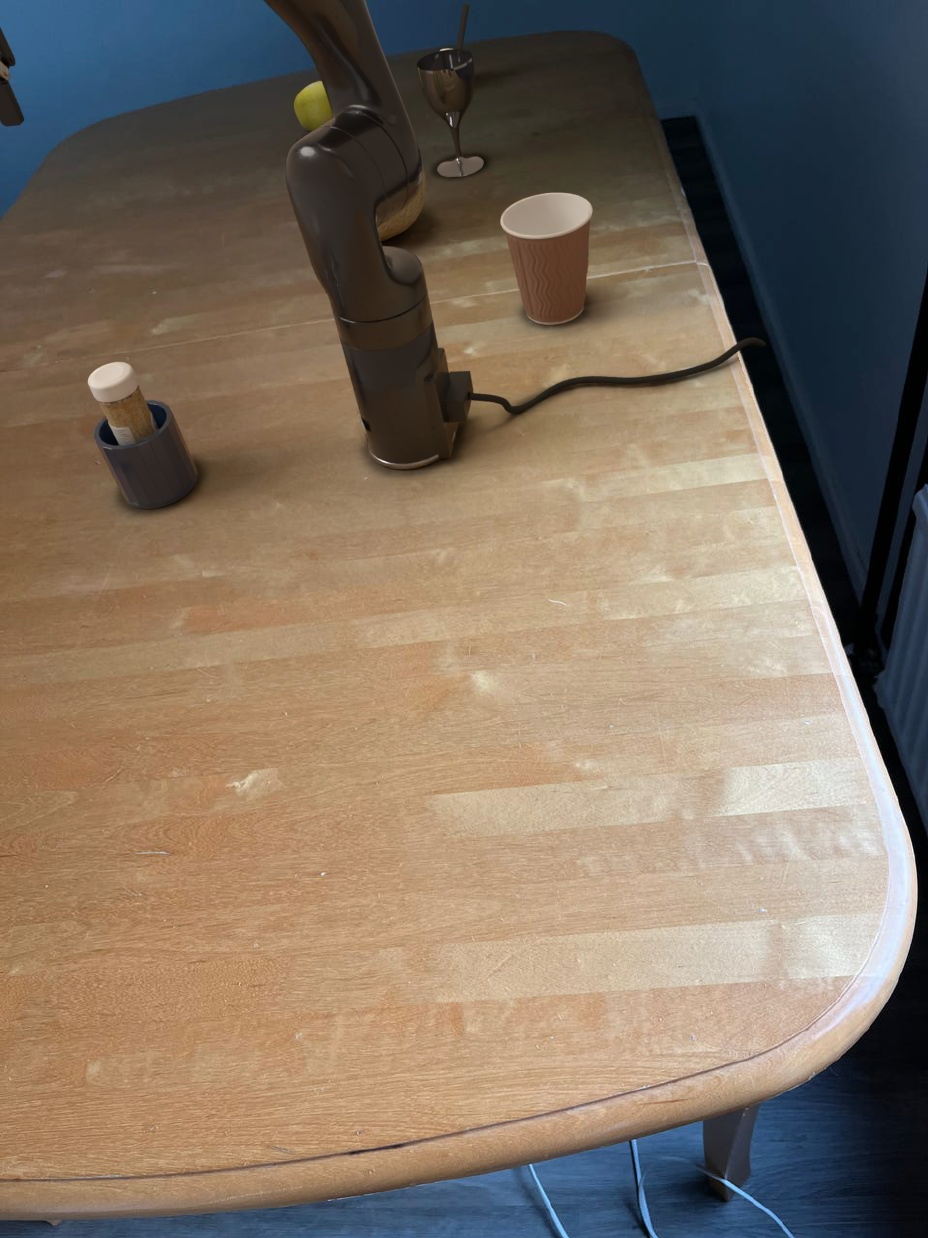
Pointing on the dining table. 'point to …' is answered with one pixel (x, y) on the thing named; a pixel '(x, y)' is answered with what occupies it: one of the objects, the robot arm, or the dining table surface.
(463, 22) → the dark thin bar
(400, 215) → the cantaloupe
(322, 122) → the apple
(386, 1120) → the dining table surface
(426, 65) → the wine glass
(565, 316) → the coffee cup
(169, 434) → the holder cup
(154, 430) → the sprinkles bottle
